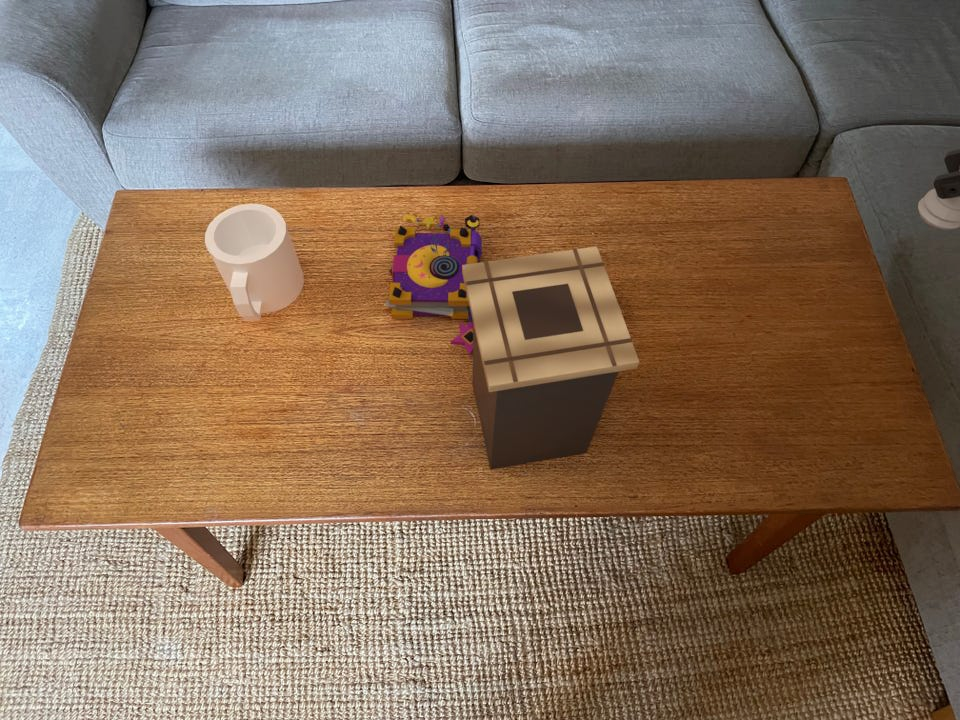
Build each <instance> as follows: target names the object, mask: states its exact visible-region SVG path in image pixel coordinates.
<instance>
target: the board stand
mask: <svg viewBox="0 0 960 720" xmlns="http://www.w3.org/2000/svg"><path fill="white" fill-rule="evenodd" d="M619 372H620V371H618V372H612V373H605V374H599V375H593V376H587V377H581V378H574V379H568V380H562V381H556V382H550V383H543V384H537V385H531V386H525V387H519V388H512V389H506V390H500V391H494V392H489V390H488V385H487V381H486V376H485V372H484V368H483V363H482V359H481V354H480V350H479V345H478V341H477V336H476V332H475V327H474V323H473V352H472V388H473V393H474V398H475V402H476V408H477V412H478V416H479V421H480V426H481V431H482V436H483V442H484V445H485V449H486V455H487V459H488V460H487V461H488V464H489V469H490V470H497V469H503V468H507V467H508V468H509V467H513V466H520V465H524V464H530V463H531V464H532V463H537V462H543V461H547V460H554V459H559V458H566V457H572V456H576V455H583V454H586V453H587V452H588V450H589V448H590V445H591V442H592V440H593V438H594V436H595V432H596V430H597V427H598V425H599V423H600V421H601V418H602V415H603V412H604V410H605V408H606V405H607V402H608V400H609V398H610V395H611V393H612V390H613V388H614V385H615V382H616V381H617V377H618V375H619Z"/></svg>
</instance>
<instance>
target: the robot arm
mask: <svg viewBox="0 0 960 720" xmlns="http://www.w3.org/2000/svg"><path fill="white" fill-rule="evenodd" d="M943 161H944V164H945V166H946V169H947V172H948V173H943V174H939V175H937V176H936V177H935V179H934V180H933V188H934V189H935V190H936V193H937V196H938V197H939V198H941V199H948V198H955V197H960V171H959V170H960V148H959V149H954V150H950V151H948V152H947V153H946V155H945V157H944V160H943Z"/></svg>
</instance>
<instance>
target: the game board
mask: <svg viewBox="0 0 960 720" xmlns="http://www.w3.org/2000/svg"><path fill="white" fill-rule="evenodd" d="M462 274H463V278H464V283H465V287H466V291H467V296H468V300H469V305H470V309H471V314H472V318H473V323H474V327H475V332H476V336H477V341H478V345H479V350H480V354H481V359H482V363H483V368H484V372H485V376H486V381H487V385H488V390H489V392H494V391H500V390H506V389H512V388H519V387H525V386H531V385H537V384H543V383H550V382H556V381H562V380H568V379H574V378H581V377H587V376H593V375H599V374H605V373H612V372H618V371H619V372H622V371H629V370H636V369H638V367H639V364H640V360H639V356H638V354H637V351H636V348H635V345H634V341H633V339H632V337H631V334H630V333H629V329H628V327H627V326H628V325H627V324H626V321H625V318H624V315H623V313H622V309H621V308H620V307H621V306H620V307H619V305H618V304H619V302H618V299H617V297H616V293H615V291H614V288H613V285H612V283H611V281H610V278H609V275H608V271H607V270H606V267H605V263H604V262H603V258H602V255H601V253H600V250H599V247H598V246H589V247H588V246H587V247H583V248H581V247H580V248H572V249H568V250H561V251H560V250H559V251H552V252H547V253H537V254H532V255H524V256H516V257H509V258H503V259H496V260H495V259H494V260H483V261H482V262H481V261H480V262H478V263H473V264H466V265H462ZM614 293H615V294H614ZM620 309H621V310H620Z"/></svg>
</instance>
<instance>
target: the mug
mask: <svg viewBox="0 0 960 720" xmlns="http://www.w3.org/2000/svg"><path fill="white" fill-rule="evenodd" d="M204 234H205V235H204V244H205V246H206V249H207V251H208V253H209V255H210V257H211V258H212V261H213V263H214V265H215V266H216V268H217V270H218V272H219V274H220V276H221V279H222V280H223V282H224V284H225V285H226V287H227V290H228V291H229V293H230V295H231V298H232V302H233V303H232V304H233V306H234V307H235V309H236V312H237V313H238V316H239V317H240V318H241V319H243V320H244V321H245V322H261V319H262V314H269V313H276V312H278V311H281V310H283V309H285V308H287V307H288V306H290V305H291V304H293V303H294V302H295V301H296V300H297V299H298V297H299V296H300V295H301V293H302V291H303V288H304V285H305V277H304V276H305V275H304V271H303V269H302V266H301V263H300V260H299V258H298V255H297V252H296V248H295V245H294V243H293V240H292V237H291V235H290V231H289V229H288V226H287V223H286V221H285V219H284V217H283V216H282V214H281V213H280V212H279V211H277V210H276V209H275V208H273V207H271V206H269V205H266V204H261V203H245V204H239V205H235V206H232V207H230V208H227V209H226V210H224V211H222V212H220V213H219V214H218V215H216V216H215V217H214V218H213V219H212V220H211V222H210V223H209V224H208V226H207V228H206V231H205V233H204Z"/></svg>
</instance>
